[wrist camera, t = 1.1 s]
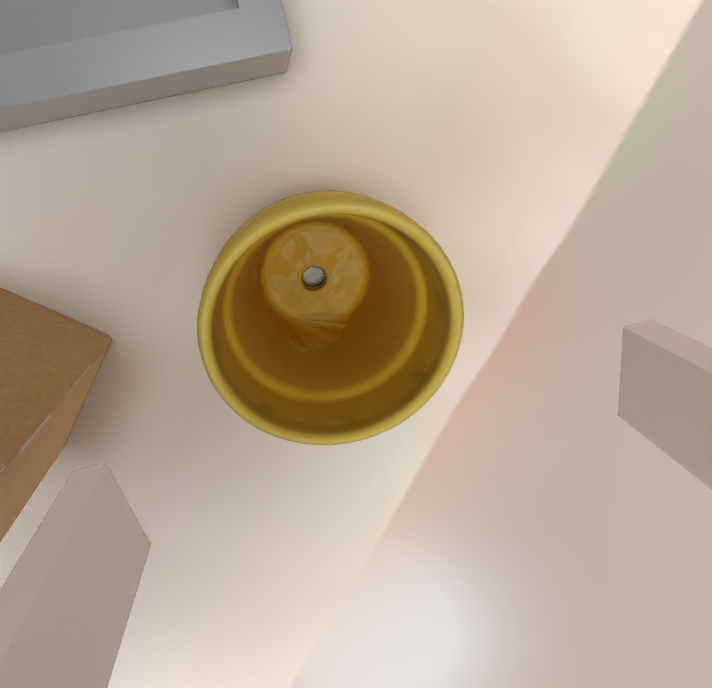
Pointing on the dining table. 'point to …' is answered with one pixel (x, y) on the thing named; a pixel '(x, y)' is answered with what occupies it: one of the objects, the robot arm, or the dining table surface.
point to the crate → (129, 52)
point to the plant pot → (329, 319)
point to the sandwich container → (39, 393)
